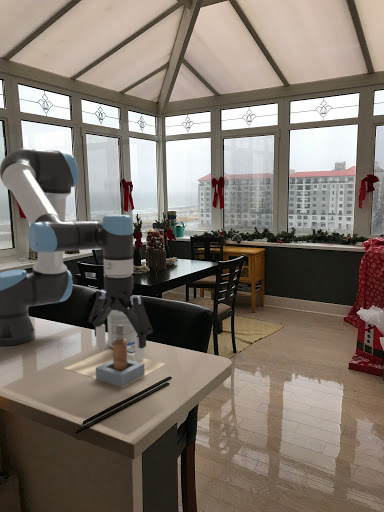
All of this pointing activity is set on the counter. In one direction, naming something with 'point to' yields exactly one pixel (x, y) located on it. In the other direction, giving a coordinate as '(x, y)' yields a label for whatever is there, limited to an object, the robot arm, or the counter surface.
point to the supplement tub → (120, 319)
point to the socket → (120, 373)
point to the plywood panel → (91, 363)
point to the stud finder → (131, 353)
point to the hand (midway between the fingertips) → (119, 354)
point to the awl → (120, 349)
